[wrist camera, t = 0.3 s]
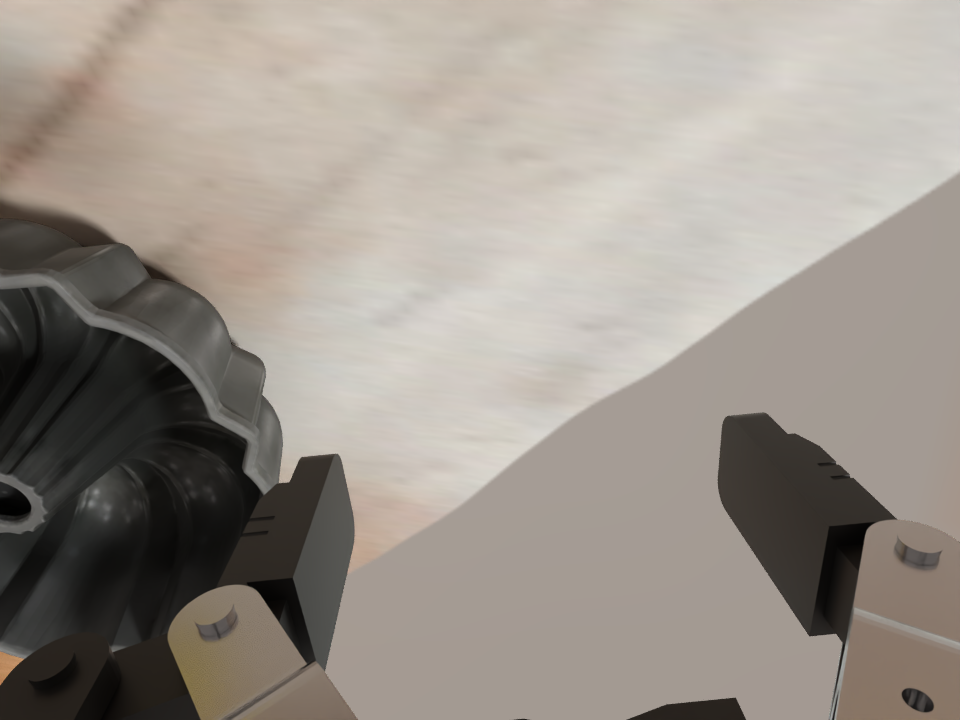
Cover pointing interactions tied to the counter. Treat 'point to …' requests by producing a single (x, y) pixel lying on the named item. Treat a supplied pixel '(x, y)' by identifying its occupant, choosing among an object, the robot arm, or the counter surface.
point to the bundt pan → (117, 443)
